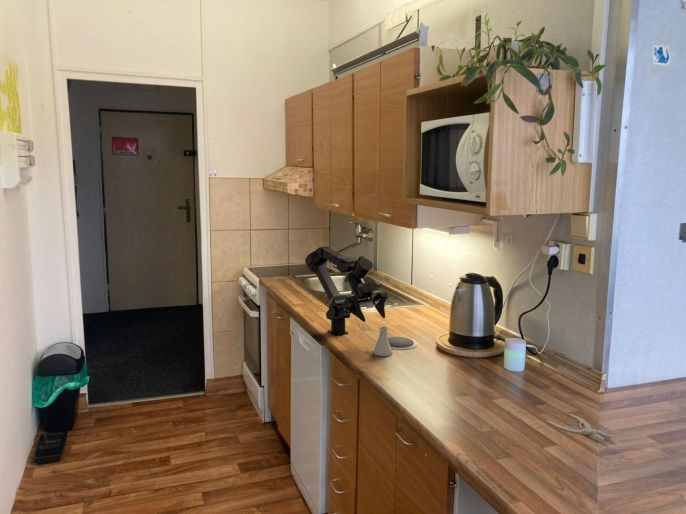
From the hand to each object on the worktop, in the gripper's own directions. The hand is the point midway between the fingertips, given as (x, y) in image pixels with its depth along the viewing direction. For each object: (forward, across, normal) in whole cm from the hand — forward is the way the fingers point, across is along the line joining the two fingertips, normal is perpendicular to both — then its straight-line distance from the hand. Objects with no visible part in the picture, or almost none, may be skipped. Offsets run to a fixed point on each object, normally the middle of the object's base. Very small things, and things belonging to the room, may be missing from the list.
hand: (374, 319), depth 209 cm
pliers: (+66, +8, -48) cm, 82 cm away
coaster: (+8, +12, +9) cm, 17 cm away
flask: (+12, 0, +5) cm, 13 cm away
